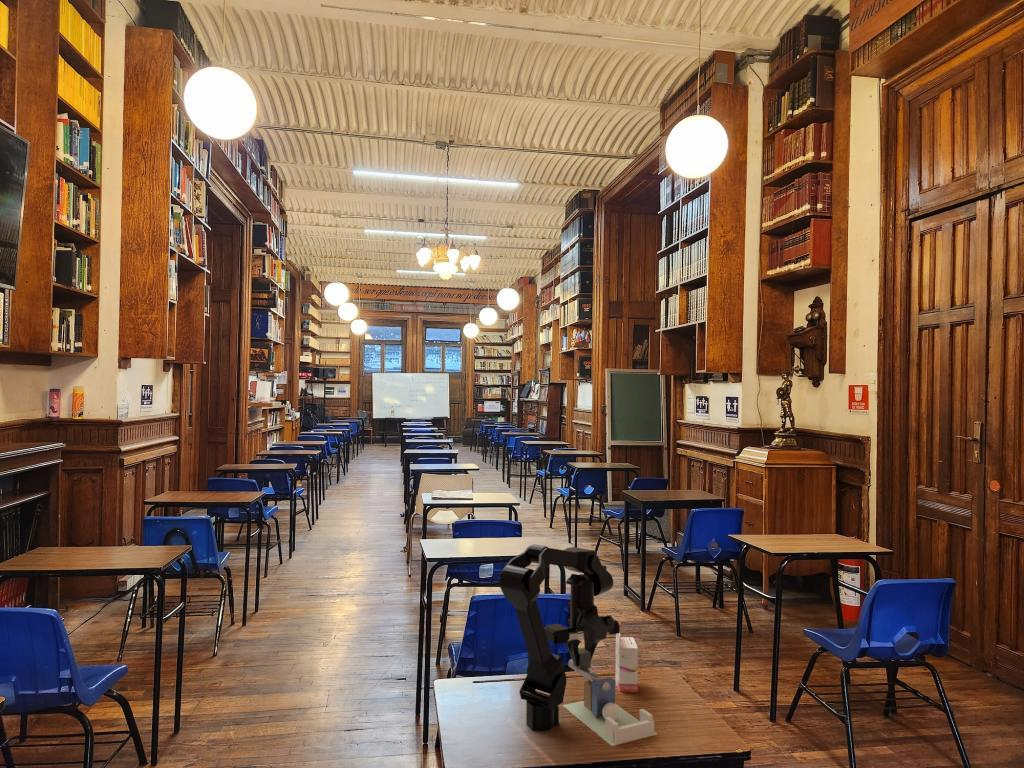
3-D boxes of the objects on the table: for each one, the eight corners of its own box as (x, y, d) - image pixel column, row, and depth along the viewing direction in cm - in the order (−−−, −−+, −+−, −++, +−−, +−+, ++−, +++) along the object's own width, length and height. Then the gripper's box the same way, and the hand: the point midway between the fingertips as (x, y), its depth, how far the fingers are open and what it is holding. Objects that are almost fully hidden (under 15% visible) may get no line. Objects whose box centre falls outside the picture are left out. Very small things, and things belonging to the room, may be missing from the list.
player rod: (597, 717, 151) (597, 668, 152) (562, 690, 166) (563, 645, 166) (616, 713, 153) (616, 665, 154) (580, 687, 168) (580, 643, 168)
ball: (607, 727, 148) (609, 710, 148) (598, 717, 152) (599, 701, 152) (622, 723, 150) (623, 706, 150) (612, 714, 154) (613, 697, 153)
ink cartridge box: (639, 695, 167) (638, 636, 167) (619, 695, 167) (619, 636, 167) (633, 681, 175) (633, 625, 176) (614, 681, 175) (614, 625, 176)
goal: (615, 744, 140) (615, 725, 140) (605, 736, 144) (605, 717, 144) (654, 735, 145) (654, 716, 145) (643, 727, 148) (643, 708, 148)
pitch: (611, 750, 140) (611, 718, 140) (562, 709, 159) (562, 681, 159) (657, 738, 145) (657, 707, 145) (604, 700, 164) (604, 672, 164)
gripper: (565, 614, 152) (565, 684, 151) (633, 604, 160) (633, 670, 159) (542, 601, 162) (542, 666, 161) (607, 592, 170) (607, 654, 169)
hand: (582, 664), depth 162 cm, fingers closed on player rod, 3 cm apart
